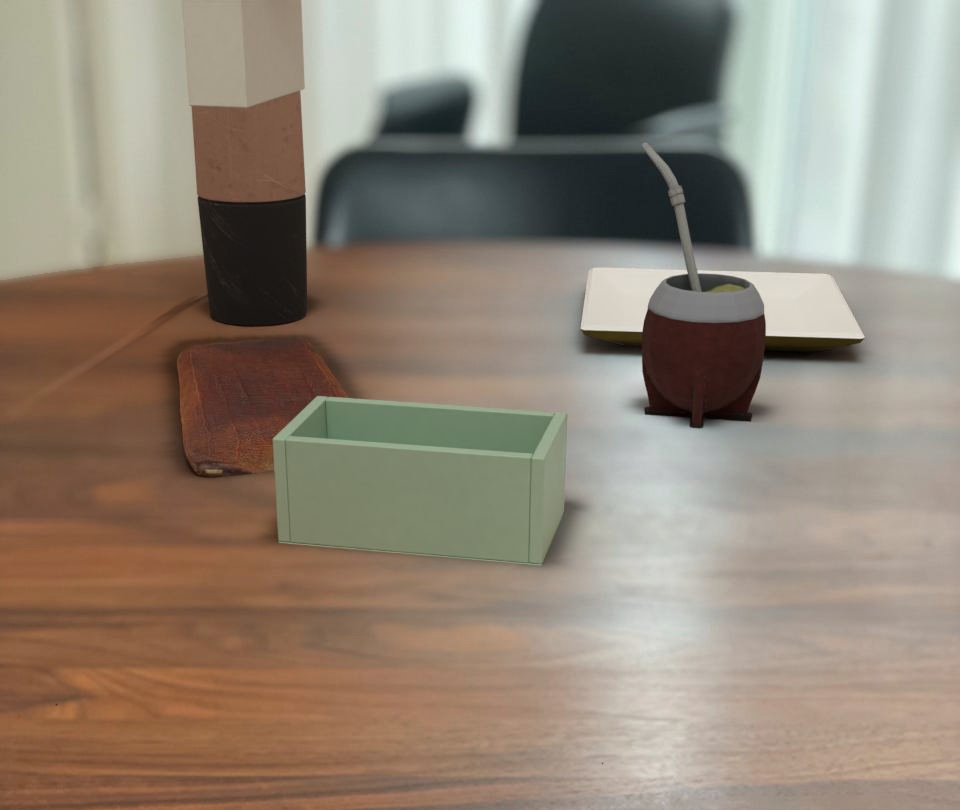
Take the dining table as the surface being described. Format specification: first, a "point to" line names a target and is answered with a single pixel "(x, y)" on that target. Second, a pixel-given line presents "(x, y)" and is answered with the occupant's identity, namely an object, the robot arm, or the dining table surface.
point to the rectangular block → (242, 51)
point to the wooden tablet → (245, 400)
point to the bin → (421, 479)
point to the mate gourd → (701, 336)
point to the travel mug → (253, 210)
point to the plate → (786, 296)
